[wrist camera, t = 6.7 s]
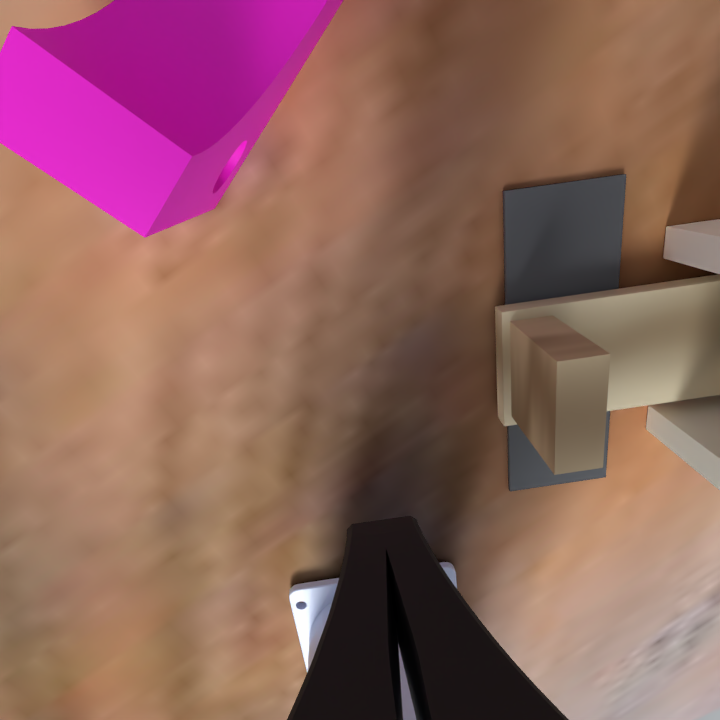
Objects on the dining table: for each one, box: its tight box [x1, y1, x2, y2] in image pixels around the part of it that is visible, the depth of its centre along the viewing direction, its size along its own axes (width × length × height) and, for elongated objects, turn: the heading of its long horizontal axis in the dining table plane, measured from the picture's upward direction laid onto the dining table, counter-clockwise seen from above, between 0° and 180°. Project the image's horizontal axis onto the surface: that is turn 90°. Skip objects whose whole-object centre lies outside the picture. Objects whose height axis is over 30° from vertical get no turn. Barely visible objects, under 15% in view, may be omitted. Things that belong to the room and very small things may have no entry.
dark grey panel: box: [503, 174, 626, 491], centre depth 20 cm, size 13×4×1 cm, turn 7°
